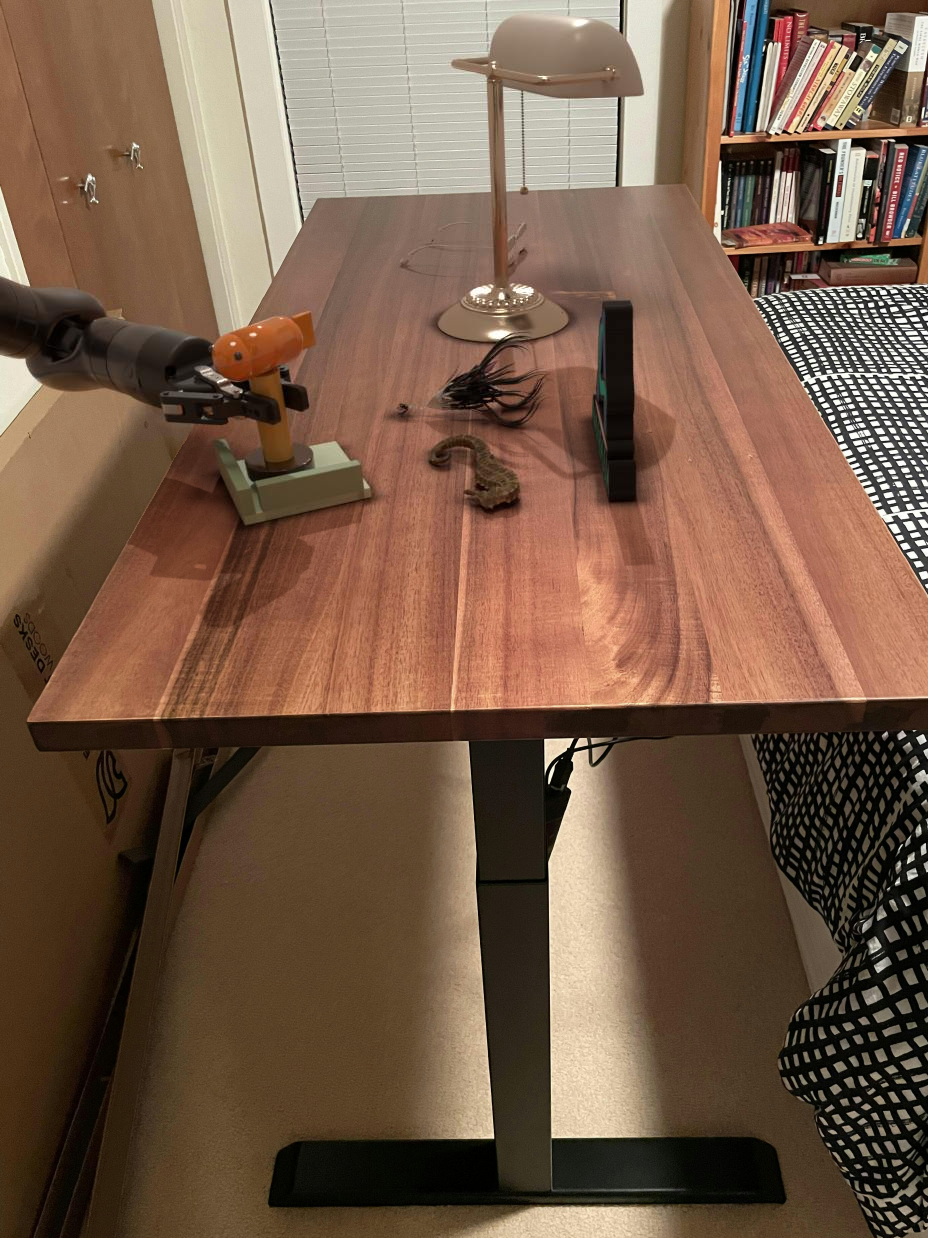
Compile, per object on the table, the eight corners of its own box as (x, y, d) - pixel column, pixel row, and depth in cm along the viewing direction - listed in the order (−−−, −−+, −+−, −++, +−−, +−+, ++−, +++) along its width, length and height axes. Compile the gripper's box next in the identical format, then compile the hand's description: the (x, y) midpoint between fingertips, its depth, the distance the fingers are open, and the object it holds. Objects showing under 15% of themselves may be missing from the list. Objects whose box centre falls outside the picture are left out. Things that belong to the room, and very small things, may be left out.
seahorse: (474, 441, 99) (471, 424, 98) (535, 502, 89) (533, 483, 88) (424, 457, 98) (421, 439, 97) (480, 520, 87) (477, 502, 86)
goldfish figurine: (306, 439, 97) (283, 299, 89) (353, 454, 94) (333, 311, 86) (221, 481, 90) (187, 334, 82) (268, 498, 87) (238, 347, 79)
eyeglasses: (507, 270, 151) (506, 243, 148) (397, 266, 155) (394, 240, 152) (528, 245, 163) (528, 219, 160) (426, 242, 166) (424, 217, 164)
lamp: (651, 328, 127) (669, 15, 106) (482, 361, 119) (466, 31, 98) (558, 279, 146) (557, 6, 125) (407, 305, 138) (380, 19, 117)
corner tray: (245, 525, 87) (237, 490, 85) (220, 473, 96) (212, 440, 94) (371, 497, 91) (367, 462, 89) (337, 449, 100) (332, 417, 98)
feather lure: (559, 422, 100) (538, 342, 95) (399, 458, 105) (371, 385, 100) (565, 391, 107) (546, 315, 102) (414, 426, 112) (389, 356, 107)
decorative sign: (635, 501, 89) (644, 336, 79) (608, 502, 89) (614, 337, 79) (614, 419, 104) (619, 272, 94) (591, 420, 104) (594, 273, 94)
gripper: (230, 384, 101) (351, 419, 92) (116, 431, 92) (239, 475, 84) (214, 310, 96) (340, 341, 88) (93, 352, 87) (221, 390, 79)
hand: (290, 406), depth 86 cm, fingers closed on goldfish figurine, 3 cm apart
